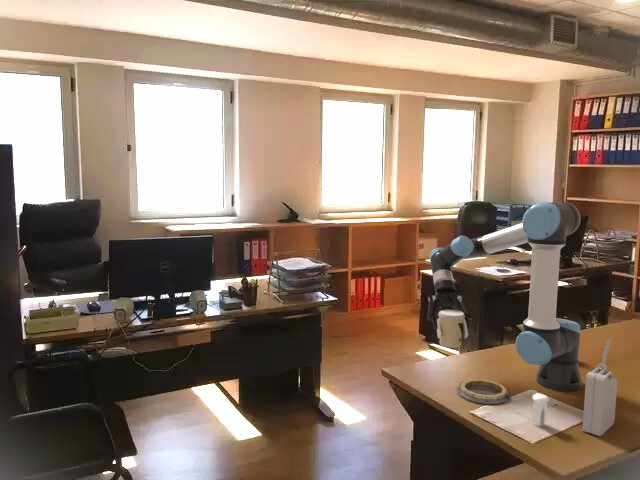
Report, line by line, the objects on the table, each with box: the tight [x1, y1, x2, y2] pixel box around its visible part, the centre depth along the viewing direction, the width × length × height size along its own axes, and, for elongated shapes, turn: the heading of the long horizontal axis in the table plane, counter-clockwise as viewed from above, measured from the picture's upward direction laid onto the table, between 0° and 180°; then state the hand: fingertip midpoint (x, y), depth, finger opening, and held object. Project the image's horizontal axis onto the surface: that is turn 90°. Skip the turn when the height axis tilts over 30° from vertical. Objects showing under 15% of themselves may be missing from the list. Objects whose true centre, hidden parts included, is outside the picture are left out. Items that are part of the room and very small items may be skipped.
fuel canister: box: [582, 337, 618, 437], centre depth 161 cm, size 15×5×25 cm, turn 135°
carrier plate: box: [456, 379, 511, 406], centre depth 184 cm, size 17×17×2 cm
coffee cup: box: [437, 309, 465, 349], centre depth 200 cm, size 9×9×12 cm
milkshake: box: [530, 392, 550, 427], centre depth 162 cm, size 5×5×10 cm
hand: (452, 336), depth 197 cm, fingers closed on coffee cup, 9 cm apart
